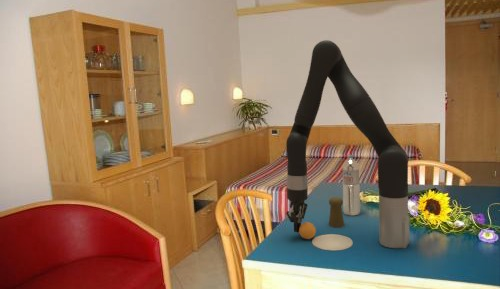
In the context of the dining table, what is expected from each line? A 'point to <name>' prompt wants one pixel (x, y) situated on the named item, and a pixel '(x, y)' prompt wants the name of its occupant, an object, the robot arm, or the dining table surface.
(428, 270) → the dining table surface
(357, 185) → the water bottle
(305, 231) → the ball
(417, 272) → the dining table surface
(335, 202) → the brown rounded upright piece
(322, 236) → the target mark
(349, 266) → the dining table surface
